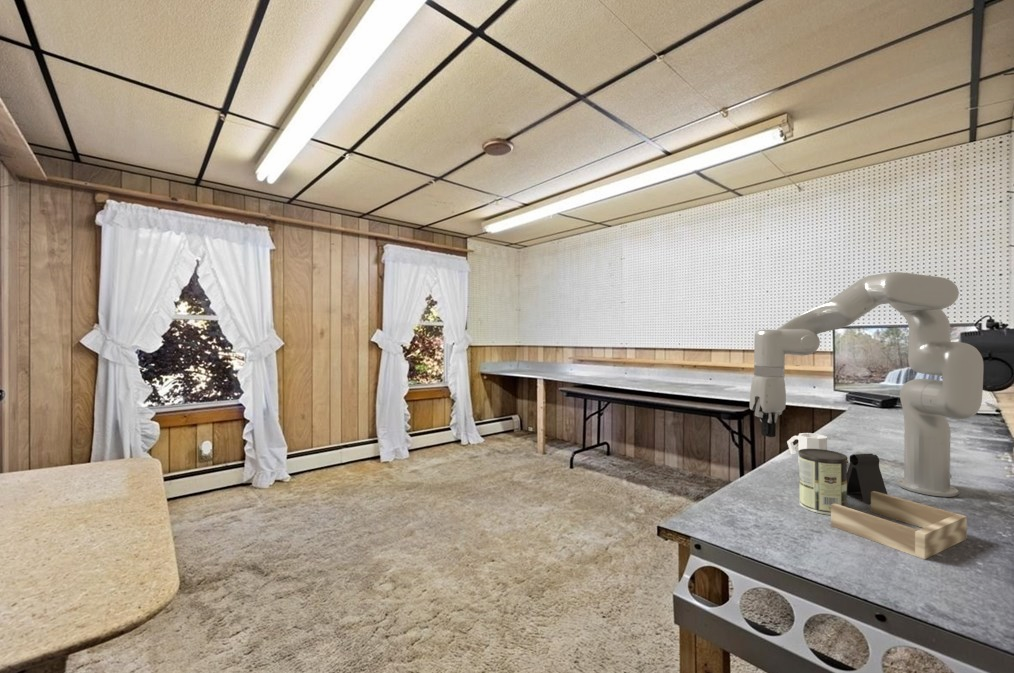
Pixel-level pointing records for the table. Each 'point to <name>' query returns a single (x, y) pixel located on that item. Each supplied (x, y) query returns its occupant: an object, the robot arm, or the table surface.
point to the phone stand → (864, 477)
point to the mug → (807, 442)
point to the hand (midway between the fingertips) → (768, 435)
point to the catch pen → (923, 543)
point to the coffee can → (822, 480)
